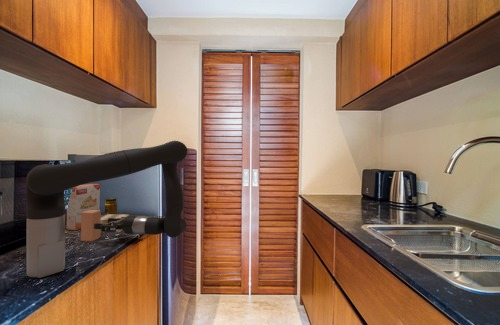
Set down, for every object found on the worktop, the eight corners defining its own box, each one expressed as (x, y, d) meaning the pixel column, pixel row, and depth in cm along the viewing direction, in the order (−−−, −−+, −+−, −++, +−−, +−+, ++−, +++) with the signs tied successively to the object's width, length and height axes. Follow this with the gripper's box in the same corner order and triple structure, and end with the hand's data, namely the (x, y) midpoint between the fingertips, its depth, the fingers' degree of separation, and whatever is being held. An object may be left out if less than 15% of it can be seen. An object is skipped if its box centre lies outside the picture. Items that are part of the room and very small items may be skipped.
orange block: (100, 237, 107) (100, 210, 107) (92, 241, 102) (92, 212, 102) (89, 236, 107) (89, 209, 107) (81, 240, 102) (81, 212, 102)
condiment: (101, 220, 133) (101, 198, 133) (115, 217, 141) (115, 196, 141) (109, 222, 130) (109, 200, 130) (123, 219, 138) (124, 198, 137)
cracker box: (76, 231, 114) (76, 187, 114) (65, 230, 116) (66, 186, 115) (100, 223, 128) (100, 183, 128) (90, 222, 129) (91, 183, 129)
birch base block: (129, 226, 125) (129, 214, 125) (119, 232, 114) (119, 220, 114) (107, 225, 125) (107, 214, 125) (94, 232, 114) (95, 219, 114)
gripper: (146, 212, 110) (112, 210, 111) (128, 220, 96) (89, 218, 97) (146, 228, 110) (112, 227, 111) (128, 239, 96) (89, 237, 97)
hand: (101, 223), depth 104 cm, fingers open, 8 cm apart
